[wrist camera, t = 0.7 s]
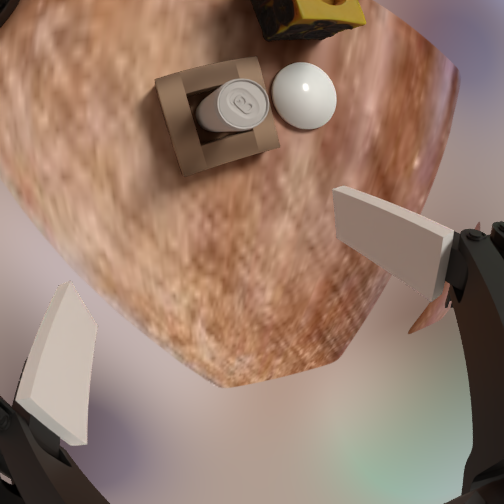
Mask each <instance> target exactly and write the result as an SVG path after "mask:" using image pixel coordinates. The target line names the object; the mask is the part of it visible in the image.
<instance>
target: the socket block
mask: <svg viewBox="0 0 504 504" xmlns="http://www.w3.org/2000/svg"><path fill="white" fill-rule="evenodd" d="M234 79H250V80H252V81H255V82H256V83H258V84H259V85H261V86H262V88H263V89H264V90H265V91H266V87H265V83H264V79H263V76H262V72H261V69H260V65H259V61H258V58H257V56H254V57H247V58H240V59H234V60H229V61H224V62H219V63H214V64H209V65H205V66H200V67H196V68H192V69H188V70H185V71H181V72H177V73H174V74H170V75H167V76H164V77H161V78H157V79H155V87H156V91H157V94H158V98H159V101H160V105H161V108H162V112H163V115H164V118H165V122H166V125H167V128H168V132H169V135H170V138H171V141H172V145H173V148H174V151H175V154H176V157H177V160H178V164H179V167H180V170H181V173H182V175H183V176H184V177H187V176H190V175H192V174H195V173H198V172H201V171H204V170H207V169H210V168H213V167H216V166H219V165H222V164H225V163H228V162H231V161H234V160H238V159H241V158H244V157H248V156H251V155H254V154H258V153H261V152H265V151H269V150H272V149H276V148H280V143H279V139H278V135H277V131H276V126H275V122H274V118H273V114H272V110H271V106H270V102H269V111H268V114H267V116H266V117H265V119H264V120H263V121H262V122H261V123H260V124H259V125H257V126H256V127H254V128H252V129H250V130H245V131H243V132H240V133H236V134H232V135H229V136H225V137H222V138H219V139H215V140H212V141H209V142H206V143H202V144H200V141H199V138H198V134H197V131H196V128H195V124H194V121H193V117H192V114H191V110H190V107H189V103H188V100H187V97H189V96H192V95H196V94H199V93H203V92H207V91H211V90H215V89H218V88H219V87H221V86H222V85H223V84H225V83H226V82H228V81H231V80H234ZM266 93H267V91H266ZM268 99H269V98H268Z"/></svg>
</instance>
